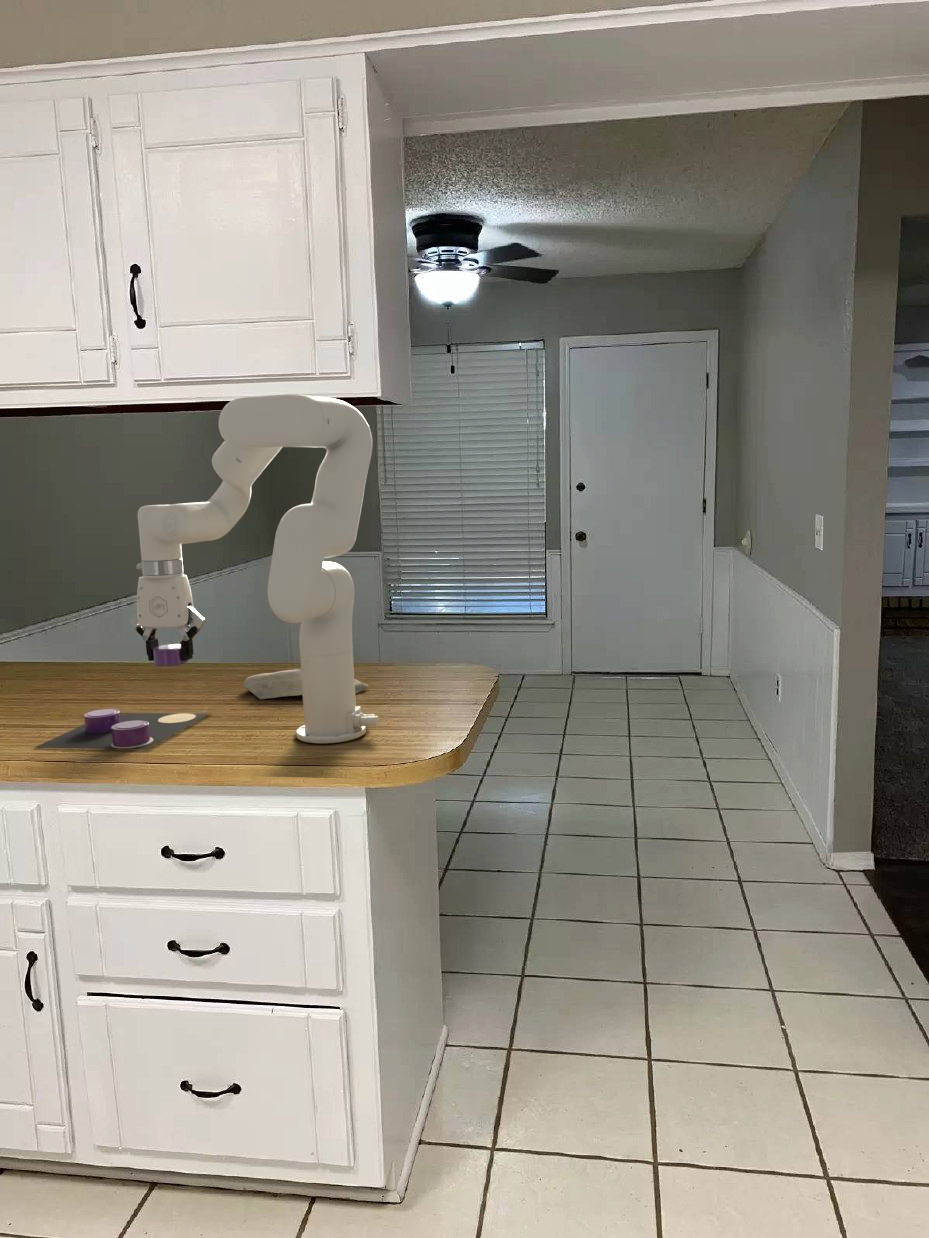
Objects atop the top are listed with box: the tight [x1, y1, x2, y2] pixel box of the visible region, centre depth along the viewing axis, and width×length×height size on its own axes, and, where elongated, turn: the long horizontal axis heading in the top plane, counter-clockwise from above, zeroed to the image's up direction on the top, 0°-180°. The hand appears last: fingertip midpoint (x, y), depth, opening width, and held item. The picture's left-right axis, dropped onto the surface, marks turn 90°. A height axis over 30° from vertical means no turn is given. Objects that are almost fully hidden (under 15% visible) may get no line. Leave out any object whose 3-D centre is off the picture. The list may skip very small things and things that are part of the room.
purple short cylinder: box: [111, 720, 150, 747], centre depth 163 cm, size 6×6×3 cm
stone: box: [242, 668, 369, 700], centre depth 199 cm, size 28×7×15 cm
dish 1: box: [83, 708, 121, 734], centre depth 173 cm, size 6×6×3 cm
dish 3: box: [153, 643, 189, 667], centre depth 177 cm, size 6×6×3 cm
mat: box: [36, 712, 210, 751], centre depth 172 cm, size 22×24×1 cm
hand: (170, 658), depth 177 cm, fingers closed on dish 3, 6 cm apart
